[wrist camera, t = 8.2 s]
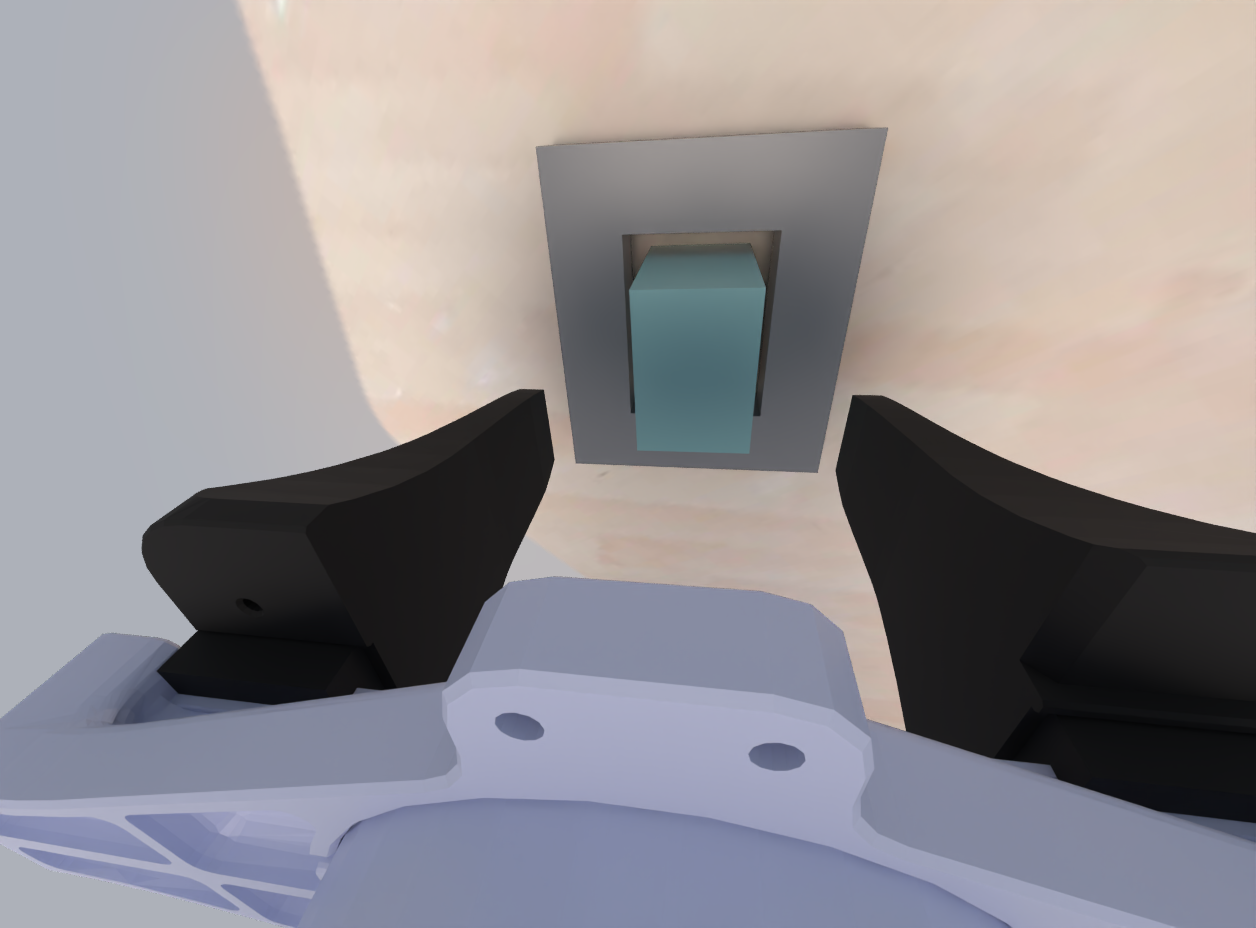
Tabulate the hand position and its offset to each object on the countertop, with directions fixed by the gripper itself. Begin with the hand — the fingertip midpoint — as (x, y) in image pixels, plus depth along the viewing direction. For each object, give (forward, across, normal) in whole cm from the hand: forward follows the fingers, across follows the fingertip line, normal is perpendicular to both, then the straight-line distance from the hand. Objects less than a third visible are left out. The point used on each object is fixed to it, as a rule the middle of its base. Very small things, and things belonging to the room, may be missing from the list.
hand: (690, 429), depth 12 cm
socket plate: (+9, 0, 0) cm, 9 cm away
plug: (+9, 0, 0) cm, 9 cm away
